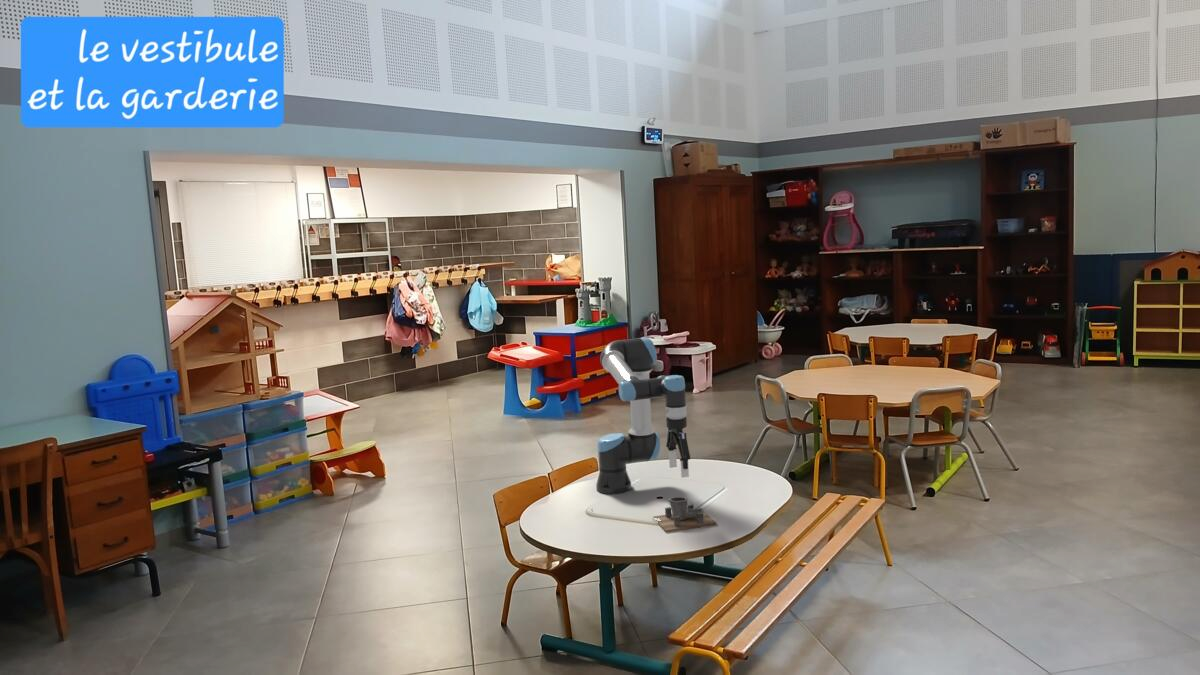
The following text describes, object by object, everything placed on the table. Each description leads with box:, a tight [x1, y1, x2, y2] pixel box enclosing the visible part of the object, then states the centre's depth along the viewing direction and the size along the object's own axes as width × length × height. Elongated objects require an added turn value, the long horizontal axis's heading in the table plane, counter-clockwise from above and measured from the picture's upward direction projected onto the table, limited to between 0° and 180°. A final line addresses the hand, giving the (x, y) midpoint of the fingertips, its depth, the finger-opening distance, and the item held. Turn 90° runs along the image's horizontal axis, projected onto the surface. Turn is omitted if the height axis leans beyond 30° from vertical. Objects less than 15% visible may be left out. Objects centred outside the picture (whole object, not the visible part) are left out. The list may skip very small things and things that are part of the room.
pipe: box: [668, 496, 704, 520], centre depth 325 cm, size 6×13×8 cm, turn 81°
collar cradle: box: [652, 503, 718, 533], centre depth 325 cm, size 16×20×4 cm
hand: (679, 472), depth 324 cm, fingers open, 13 cm apart
